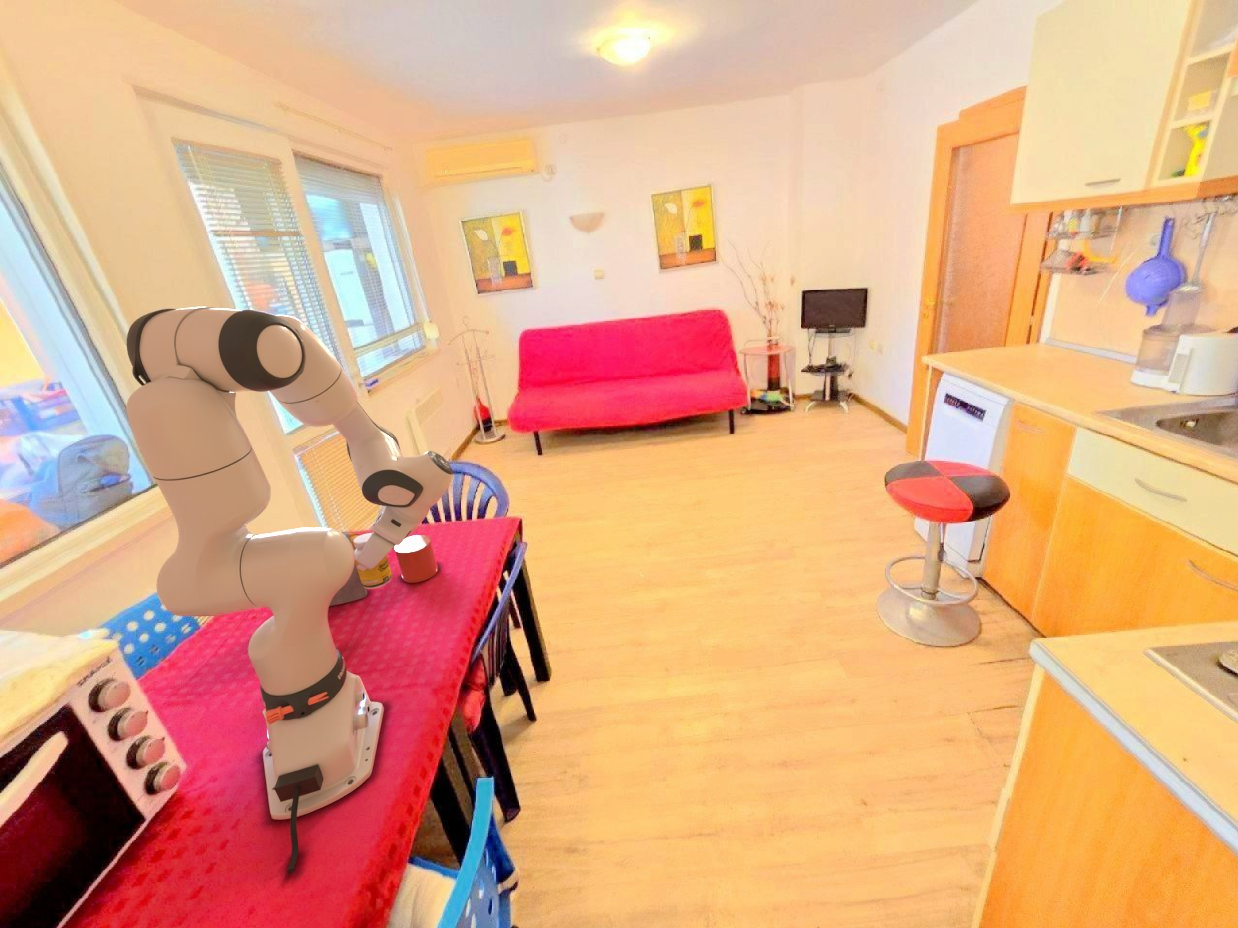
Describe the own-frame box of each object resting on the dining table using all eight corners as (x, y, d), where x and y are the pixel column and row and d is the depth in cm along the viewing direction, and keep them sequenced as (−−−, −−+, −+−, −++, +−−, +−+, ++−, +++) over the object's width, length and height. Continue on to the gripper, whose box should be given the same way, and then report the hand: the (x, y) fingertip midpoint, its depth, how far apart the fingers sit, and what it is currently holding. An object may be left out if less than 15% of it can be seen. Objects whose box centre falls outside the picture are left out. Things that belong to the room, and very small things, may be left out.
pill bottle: (381, 591, 113) (367, 545, 108) (356, 589, 114) (342, 544, 110) (398, 574, 119) (386, 531, 114) (374, 573, 120) (361, 530, 116)
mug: (440, 575, 133) (433, 545, 130) (403, 586, 129) (395, 556, 126) (434, 555, 143) (427, 527, 140) (400, 566, 139) (392, 537, 136)
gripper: (403, 488, 120) (371, 529, 123) (372, 528, 101) (336, 576, 104) (426, 502, 122) (394, 543, 125) (400, 544, 103) (364, 591, 105)
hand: (367, 558), depth 114 cm, fingers closed on pill bottle, 6 cm apart
